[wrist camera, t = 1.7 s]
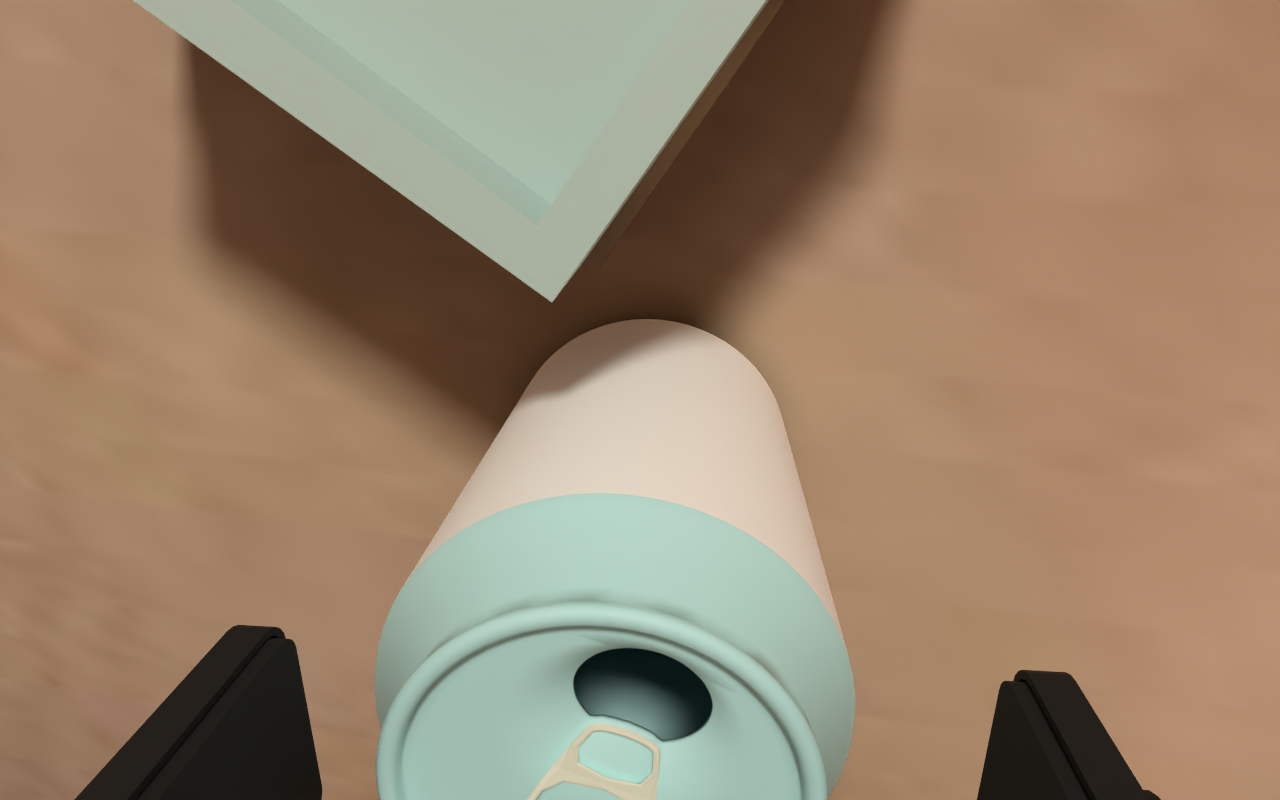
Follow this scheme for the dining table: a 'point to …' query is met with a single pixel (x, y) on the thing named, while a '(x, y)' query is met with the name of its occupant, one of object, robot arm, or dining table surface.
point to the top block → (485, 101)
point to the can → (622, 597)
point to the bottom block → (680, 138)
